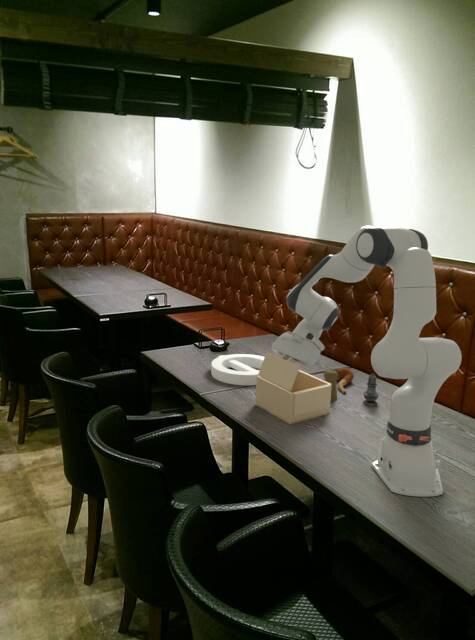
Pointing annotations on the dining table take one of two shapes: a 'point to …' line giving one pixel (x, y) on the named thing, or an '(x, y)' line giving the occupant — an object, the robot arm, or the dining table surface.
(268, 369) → the carton flap
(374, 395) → the grey chess piece
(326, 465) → the dining table surface
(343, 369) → the smoking pipe
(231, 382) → the ring with crossbar
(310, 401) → the carton
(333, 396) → the cork
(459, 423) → the dining table surface
